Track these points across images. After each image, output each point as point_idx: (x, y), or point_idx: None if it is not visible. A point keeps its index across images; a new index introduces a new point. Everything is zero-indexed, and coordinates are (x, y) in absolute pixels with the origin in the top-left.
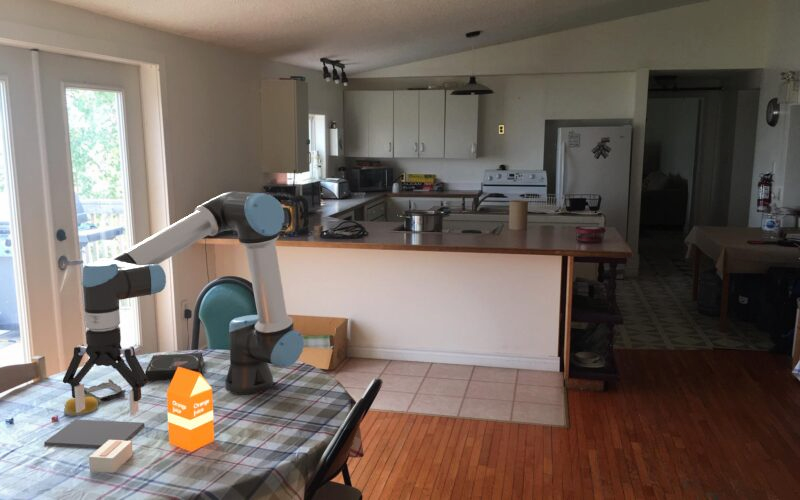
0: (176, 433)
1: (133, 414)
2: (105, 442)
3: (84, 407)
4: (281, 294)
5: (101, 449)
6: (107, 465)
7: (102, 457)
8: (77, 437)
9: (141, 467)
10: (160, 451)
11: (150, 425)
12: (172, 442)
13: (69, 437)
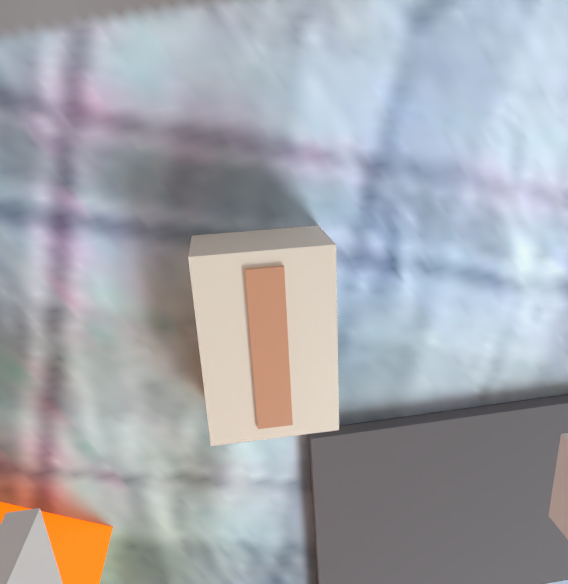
0: None
1: (4, 524)
2: (387, 451)
3: (556, 515)
4: None
5: (316, 331)
6: (223, 241)
7: (253, 251)
8: (531, 457)
9: (86, 309)
10: (100, 456)
11: None
12: (87, 528)
13: None
